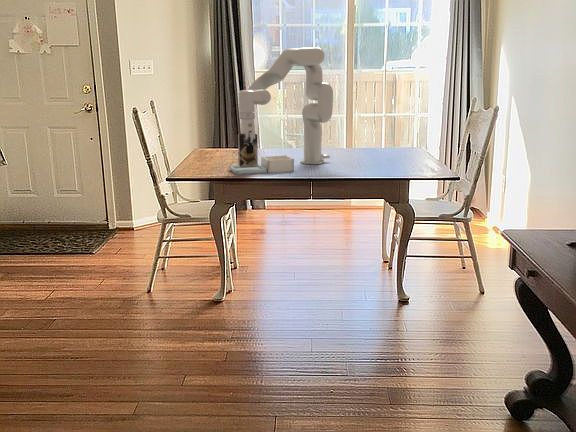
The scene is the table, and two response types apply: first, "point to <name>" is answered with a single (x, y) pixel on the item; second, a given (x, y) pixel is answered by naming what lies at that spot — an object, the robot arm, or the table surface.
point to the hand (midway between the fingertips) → (247, 151)
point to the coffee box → (243, 157)
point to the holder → (277, 163)
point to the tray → (247, 170)
